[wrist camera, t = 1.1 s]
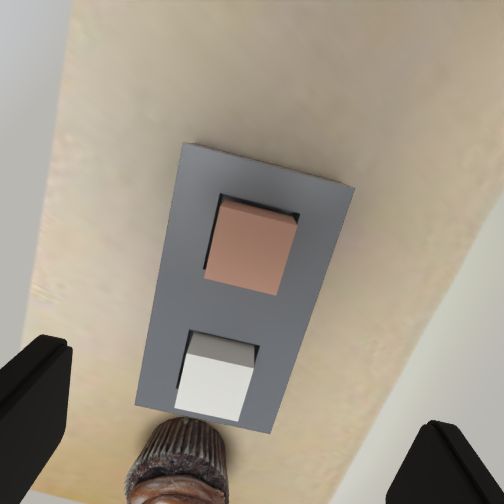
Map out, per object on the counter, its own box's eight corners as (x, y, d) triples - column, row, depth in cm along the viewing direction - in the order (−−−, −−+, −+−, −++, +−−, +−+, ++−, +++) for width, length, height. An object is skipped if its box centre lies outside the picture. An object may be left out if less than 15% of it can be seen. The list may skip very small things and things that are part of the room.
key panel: (193, 143, 26) (182, 142, 22) (341, 182, 27) (355, 188, 23) (148, 374, 32) (134, 405, 29) (268, 401, 33) (270, 434, 29)
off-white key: (194, 331, 27) (186, 353, 24) (254, 345, 27) (254, 368, 24) (182, 381, 28) (174, 408, 26) (239, 394, 29) (237, 421, 26)
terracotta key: (224, 198, 24) (220, 206, 21) (292, 216, 24) (297, 225, 21) (209, 263, 25) (203, 278, 22) (274, 279, 25) (276, 295, 23)
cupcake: (232, 410, 34) (222, 514, 24) (233, 482, 37) (224, 601, 27) (137, 409, 34) (90, 512, 24) (145, 481, 37) (106, 598, 27)
